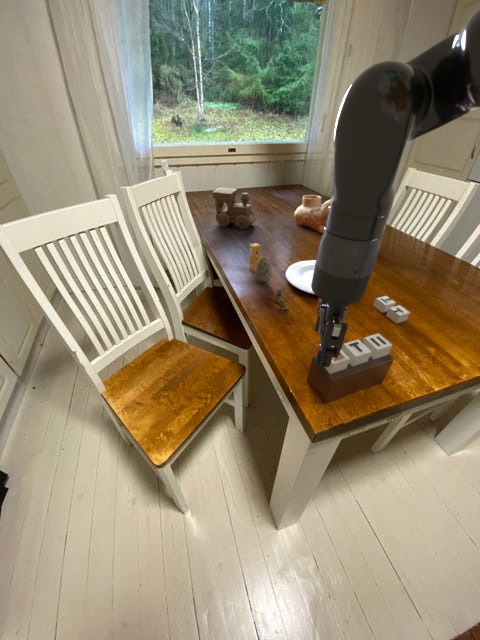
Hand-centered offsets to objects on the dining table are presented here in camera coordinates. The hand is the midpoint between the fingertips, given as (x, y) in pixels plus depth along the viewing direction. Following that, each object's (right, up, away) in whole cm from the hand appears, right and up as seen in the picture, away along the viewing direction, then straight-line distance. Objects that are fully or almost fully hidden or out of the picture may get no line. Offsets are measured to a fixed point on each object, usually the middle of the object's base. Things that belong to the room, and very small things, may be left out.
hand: (321, 347), depth 47 cm
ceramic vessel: (+25, +54, +95) cm, 112 cm away
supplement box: (-9, +24, +58) cm, 63 cm away
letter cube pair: (+32, +7, +37) cm, 49 cm away
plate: (+15, +19, +52) cm, 57 cm away
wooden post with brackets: (-1, +9, +39) cm, 40 cm away
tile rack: (+10, -10, +16) cm, 21 cm away
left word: (+13, -3, +12) cm, 17 cm away
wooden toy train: (-17, +55, +95) cm, 111 cm away
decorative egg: (-6, +18, +50) cm, 54 cm away
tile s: (+5, -5, +9) cm, 11 cm away
